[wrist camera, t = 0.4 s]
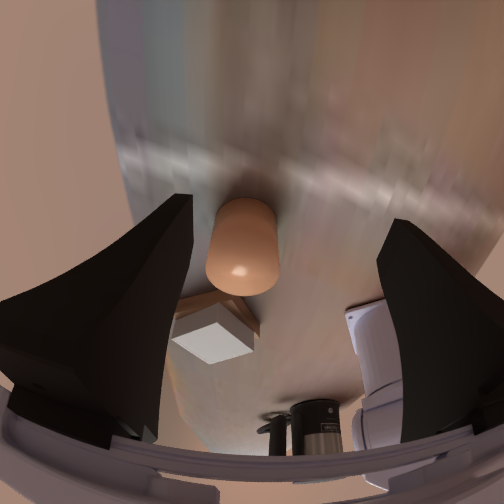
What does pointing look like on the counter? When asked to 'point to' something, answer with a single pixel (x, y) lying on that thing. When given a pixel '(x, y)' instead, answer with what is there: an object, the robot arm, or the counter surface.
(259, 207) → the terracotta cylinder
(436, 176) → the counter surface
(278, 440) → the milk frother
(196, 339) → the slab upper
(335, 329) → the counter surface
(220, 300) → the slab lower
